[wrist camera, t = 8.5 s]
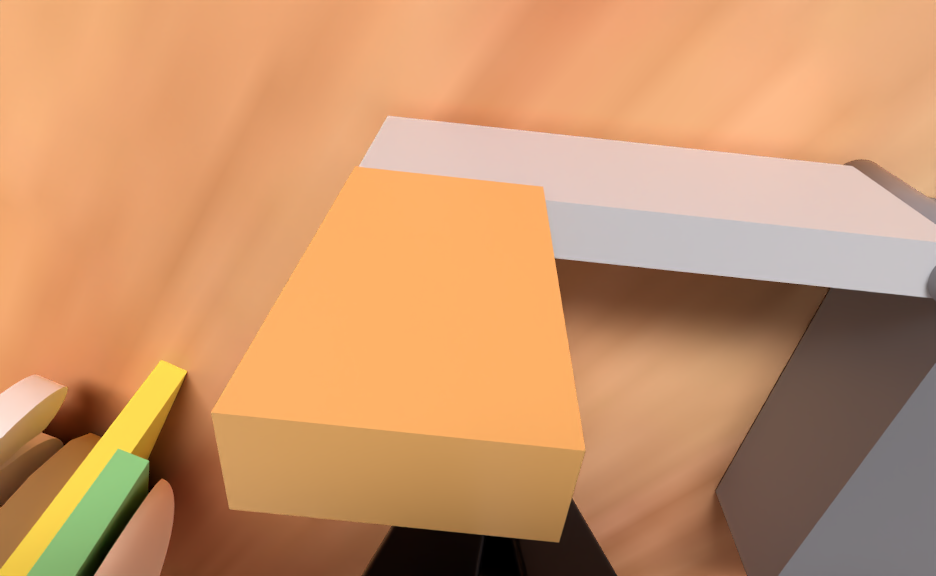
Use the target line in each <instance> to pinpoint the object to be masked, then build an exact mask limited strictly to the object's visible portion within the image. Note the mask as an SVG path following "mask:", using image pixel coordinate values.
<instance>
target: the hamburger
mask: <svg viewBox="0 0 936 576" xmlns="http://www.w3.org/2000/svg"><path fill="white" fill-rule="evenodd" d="M186 373H187V371H185V370H183V369H181V368H179V367H176V366H174V365H172V364H169V363H167V362H165V361H163V360H161V361H160V362H159V363H158V365H157V366H156V367H155V369H154V370H153V371H152V372H151V374H150V375H149V376H148V378H147V379H146V380H145V382H144V383H143V384H142V385H141V387H140V388H139V389H138V391H137V392H136V393H135V395H134V396H133V397H132V399H131V400H130V401H129V402H128V404H127V405H126V406H125V408H124V409H123V410H122V412H121V413H120V414H119V415H118V417H117V418H116V419H115V421H114V422H113V423H112V425H111V426H110V427H109V428H108V430H107V431H106V432H105V434H104V435H103V436H102V437H100V436H98V435H95V434H93V433H89V434H86V435H83V436H81V437H78V438H75V439H73V440H70V441H69V442H68V443H67V444H66V445H65V446H64V447H63V442H62V441H61V440H60V439H58V438H55V437H52V436H50V435H47V434H45V433H42V431H43V430H44V429H45V428H46V427H47V426H48V425H49V423H50V422H51V421H52V419H53V418H54V417H55V415H56V414H57V412H58V410H59V409H60V407H61V405H62V403H63V401H64V399H65V397H66V395H67V391H68V387H66V386H64V385H62V384H59V383H57V382H54V381H52V380H49V379H47V378H45V377H42V376H40V375H37V374H35V375H31V376H29V377H27V378H25V379H23V380H21V381H19V382H17V383H16V384H14V385H13V386H11V387H10V388H8V389H7V390H5V391H4V392H3V393H1V394H0V576H160V573H161V570H162V567H163V564H164V560H165V557H166V553H167V549H168V545H169V541H170V537H171V531H172V526H173V519H174V495H173V490H172V488H171V485H170V484H169V483H168V482H167V481H166V480H164V479H161V480H160V481H159V482H158V483H157V484H156V485H155V486H154V487H153V489H152V490H151V491H150V493H149V494H148V482H149V460H148V458H149V456H150V454H151V451H152V449H153V447H154V445H155V442H156V440H157V438H158V436H159V433H160V431H161V429H162V427H163V425H164V422H165V420H166V418H167V416H168V413H169V411H170V409H171V407H172V404H173V402H174V400H175V398H176V396H177V393H178V391H179V389H180V387H181V384H182V382H183V380H184V378H185V375H186Z"/></svg>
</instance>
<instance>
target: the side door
mask: <svg viewBox="0 0 936 576" xmlns="http://www.w3.org/2000/svg"><path fill="white" fill-rule="evenodd" d="M555 258H558V259H567V260H577V261H586V262H596V263H605V264H614V265H624V266H633V267H643V268H652V269H662V270H671V271H680V272H690V273H699V274H709V275H718V276H728V277H737V278H747V279H756V280H765V281H775V282H784V283H794V284H803V285H813V286H822V287H831V288H841V289H850V290H860V291H869V292H879V293H888V294H898V295H907V296H916V297H926V298H933V299H934V300H935V301H936V202H934V201H933V200H931V199H930V198H928V197H927V196H925V195H923V194H922V193H920V192H919V191H917V190H916V189H914V188H913V187H911V186H910V185H908V184H907V183H905V182H903V181H902V180H900V179H899V178H897V177H896V176H894V175H893V174H891V173H890V172H888V171H887V170H885V169H883V168H882V167H880V166H879V165H877V164H876V163H874V162H872V161H869V160H855V161H851V162H848V163H846V164H844V165H838V164H829V163H820V162H810V161H801V160H792V159H783V158H774V157H764V156H755V155H746V154H737V153H727V152H718V151H709V150H700V149H690V148H681V147H672V146H663V145H653V144H644V143H635V142H626V141H617V140H607V139H598V138H589V137H580V136H570V135H561V134H552V133H543V132H533V131H524V130H515V129H506V128H496V127H487V126H478V125H469V124H460V123H450V122H441V121H432V120H423V119H413V118H404V117H395V116H387V118H386V120H385V121H384V123H383V125H382V127H381V128H380V130H379V132H378V134H377V135H376V137H375V139H374V141H373V142H372V144H371V146H370V148H369V149H368V151H367V153H366V155H365V156H364V158H363V160H362V162H361V163H360V165H359V167H356V166H355V168H354V169H353V171H352V173H351V175H350V176H349V178H348V180H347V181H346V183H345V185H344V186H343V188H342V190H341V192H340V193H339V195H338V197H337V198H336V200H335V202H334V204H333V205H332V207H331V209H330V210H329V212H328V214H327V215H326V217H325V219H324V221H323V222H322V224H321V226H320V227H319V229H318V231H317V233H316V234H315V236H314V238H313V239H312V241H311V243H310V244H309V246H308V248H307V250H306V251H305V253H304V255H303V256H302V258H301V260H300V261H299V263H298V265H297V267H296V268H295V270H294V272H293V273H292V275H291V277H290V279H289V280H288V282H287V284H286V285H285V287H284V289H283V290H282V292H281V294H280V296H279V297H278V299H277V301H276V302H275V304H274V306H273V307H272V309H271V311H270V313H269V314H268V316H267V318H266V319H265V321H264V323H263V325H262V326H261V328H260V330H259V331H258V333H257V335H256V336H255V338H254V340H253V342H252V343H251V345H250V347H249V348H248V350H247V352H246V353H245V355H244V357H243V359H242V360H241V362H240V364H239V365H238V367H237V369H236V371H235V372H234V374H233V376H232V377H231V379H230V381H229V382H228V384H227V386H226V388H225V389H224V391H223V393H222V394H221V396H220V398H219V399H218V401H217V403H216V405H215V406H214V408H213V410H212V411H211V416H212V421H213V426H214V432H215V437H216V442H217V447H218V453H219V458H220V463H221V469H222V474H223V479H224V484H225V490H226V495H227V500H228V506H229V509H231V510H241V511H251V512H261V513H271V514H281V515H291V516H300V517H310V518H320V519H330V520H340V521H350V522H360V523H370V524H380V525H390V526H400V527H410V528H420V529H430V530H440V531H450V532H459V533H469V534H479V535H489V536H499V537H509V538H519V539H529V540H539V541H549V542H559V541H560V537H561V534H562V530H563V527H564V524H565V520H566V517H567V513H568V510H569V506H570V503H571V499H572V496H573V492H574V489H575V485H576V482H577V479H578V475H579V472H580V468H581V465H582V461H583V458H584V454H585V445H584V438H583V432H582V426H581V420H580V413H579V407H578V401H577V395H576V388H575V382H574V376H573V370H572V363H571V357H570V351H569V345H568V338H567V332H566V326H565V320H564V314H563V307H562V301H561V295H560V289H559V282H558V276H557V270H556V264H555Z"/></svg>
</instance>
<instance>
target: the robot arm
mask: <svg viewBox="0 0 936 576" xmlns="http://www.w3.org/2000/svg"><path fill="white" fill-rule="evenodd" d="M362 576H617V575H616V573H615V571H614V569H613V568H612V566H611V564H610V563H609V561H608V559H607V557H606V556H605V554H604V552H603V551H602V549H601V547H600V545H599V544H598V542H597V540H596V538H595V537H594V535H593V533H592V532H591V530H590V528H589V526H588V525H587V523H586V521H585V520H584V518H583V516H582V514H581V513H580V511H579V509H578V508H577V506H576V504H575V502H574V501H573V499H571V503H570V506H569V510H568V513H567V517H566V520H565V524H564V527H563V530H562V534H561V537H560V541H559V542H549V541H539V540H529V539H519V538H509V537H499V536H489V535H479V534H469V533H459V532H450V531H440V530H430V529H420V528H410V527H400V526H392V527H391V528H390V530H389V531H388V533H387V535H386V536H385V538H384V540H383V541H382V543H381V545H380V546H379V548H378V549H377V551H376V553H375V554H374V556H373V558H372V559H371V561H370V563H369V564H368V566H367V567H366V569H365V571H364V572H363V574H362Z"/></svg>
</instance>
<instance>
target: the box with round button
mask: <svg viewBox="0 0 936 576" xmlns="http://www.w3.org/2000/svg"><path fill="white" fill-rule="evenodd" d="M928 198H929V197H928ZM930 199H931V200H933V201H934V202H936V199H935V198H930ZM715 492H716V494H717V497H718V499H719V502H720V505H721V507H722V510H723V513H724V515H725V518H726V521H727V523H728V526H729V529H730V531H731V534H732V537H733V539H734V542H735V545H736V547H737V550H738V553H739V555H740V558H741V561H742V563H743V566H744V569H745V571H746V574H747V576H936V301H935V300H934V299H933V298H926V297H916V296H907V295H898V294H888V293H879V292H869V291H860V290H850V289H841V288H830V290H829V292H828V293H827V295H826V297H825V299H824V300H823V302H822V304H821V306H820V308H819V309H818V311H817V313H816V315H815V316H814V318H813V320H812V322H811V323H810V325H809V327H808V329H807V330H806V332H805V334H804V336H803V338H802V339H801V341H800V343H799V345H798V346H797V348H796V350H795V352H794V353H793V355H792V357H791V359H790V360H789V362H788V364H787V366H786V368H785V369H784V371H783V373H782V375H781V376H780V378H779V380H778V382H777V383H776V385H775V387H774V389H773V390H772V392H771V394H770V396H769V398H768V399H767V401H766V403H765V405H764V406H763V408H762V410H761V412H760V413H759V415H758V417H757V419H756V420H755V422H754V424H753V426H752V427H751V429H750V431H749V433H748V435H747V436H746V438H745V440H744V442H743V443H742V445H741V447H740V449H739V450H738V452H737V454H736V456H735V457H734V459H733V461H732V463H731V465H730V466H729V468H728V470H727V472H726V473H725V475H724V477H723V479H722V480H721V482H720V484H719V486H718V487H717V489H716V491H715Z"/></svg>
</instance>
